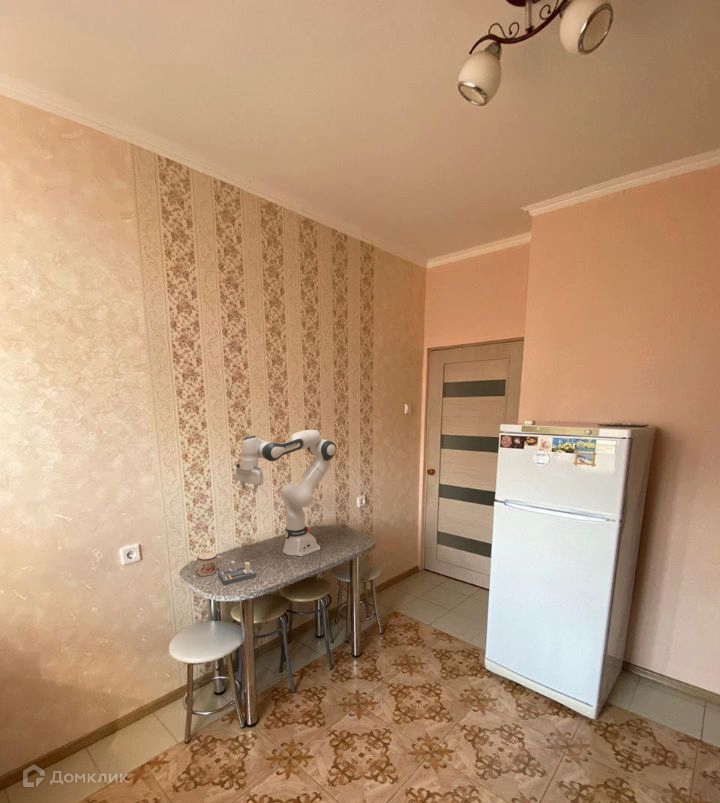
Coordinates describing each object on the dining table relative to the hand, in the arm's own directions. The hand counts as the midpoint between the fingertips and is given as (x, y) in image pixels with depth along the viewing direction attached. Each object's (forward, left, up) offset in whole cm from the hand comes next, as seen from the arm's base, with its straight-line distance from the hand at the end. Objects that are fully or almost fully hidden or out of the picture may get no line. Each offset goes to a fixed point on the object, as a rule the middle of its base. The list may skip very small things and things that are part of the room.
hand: (249, 490), depth 199 cm
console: (+8, +10, -41) cm, 43 cm away
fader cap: (+4, +13, -38) cm, 41 cm away
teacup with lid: (+19, -2, -41) cm, 45 cm away
